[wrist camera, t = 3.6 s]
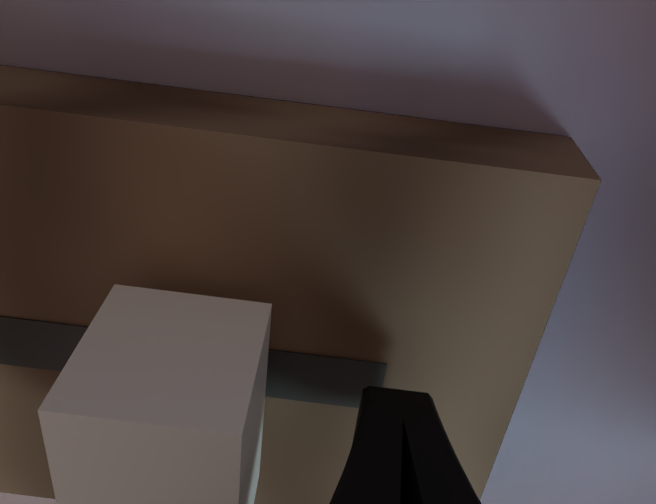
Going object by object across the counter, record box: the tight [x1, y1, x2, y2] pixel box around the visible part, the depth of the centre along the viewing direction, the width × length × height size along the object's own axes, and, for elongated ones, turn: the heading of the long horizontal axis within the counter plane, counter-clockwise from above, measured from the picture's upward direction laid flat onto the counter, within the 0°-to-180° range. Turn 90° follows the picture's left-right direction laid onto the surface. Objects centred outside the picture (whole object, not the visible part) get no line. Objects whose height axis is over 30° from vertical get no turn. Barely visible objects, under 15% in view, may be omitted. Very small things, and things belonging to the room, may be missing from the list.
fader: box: [38, 284, 272, 504], centre depth 12 cm, size 3×5×4 cm, turn 174°
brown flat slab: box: [0, 65, 601, 504], centre depth 15 cm, size 20×11×2 cm, turn 84°
